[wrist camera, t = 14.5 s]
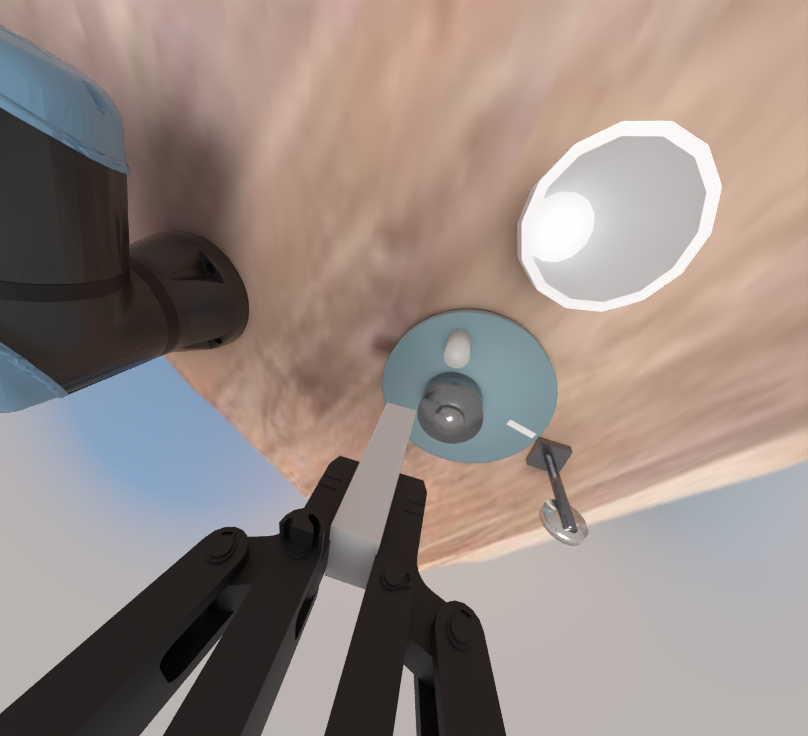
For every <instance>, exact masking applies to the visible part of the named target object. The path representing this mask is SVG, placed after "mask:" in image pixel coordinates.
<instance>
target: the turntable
mask: <svg viewBox="0 0 808 736" xmlns="http://www.w3.org/2000/svg"><path fill="white" fill-rule="evenodd" d="M445 372H458V373H462V374H464V375H467V376H468V377H470V378H472V379H473V380H474V381H475V382H476V383H477V384H478V386H479V387H480V389H481V391H482V395H483V424H482V427H481V429H480V431H479V432H478V434H477V435H476V436H475V437H473V438H472V439H470V440H468V441H466V442H462V443H457V444H450V443H444V442H440V441H438V440H436V439H434V438H432V437H430V436H429V435H428V434H427V433H426V432H425V431H424V430H423V429H422V427H421V426H420V424H419V421H418V417H417V412H416V415H415V419H414V423H413V426H412V430H411V434H410V437H409V440H410V441H411V442H412V443H413V444H415V445H416V446H418V447H419V448H421V449H422V450H424V451H426V452H428V453H430V454H432V455H435V456H437V457H440V458H443V459H447V460H450V461H455V462H462V463H485V462H492V461H497V460H501V459H504V458H507V457H510V456H512V455H514V454H516V453H518V452H520V451H522V450H523V449H525V448H527V447H528V446H529V445H530V444H532V443H533V442H534V441H535V440H536V439H537V438H538V437H539V436H540V435H541V434H542V433H543V432H544V430H545V429H546V427H547V426H548V424H549V422H550V420H551V418H552V416H553V414H554V410H555V407H556V402H557V381H556V376H555V372H554V370H553V367H552V364H551V362H550V360H549V358H548V357H547V355H546V353H545V351H544V349H543V348H542V346H541V345H540V343H539V342H538V341H537V340H536V338H535V337H534V336H533V335H532V334H531V333H530V332H528V331H527V330H526V329H525V328H523V327H522V326H521V325H519V324H518V323H516V322H514V321H513V320H511V319H509V318H507V317H504V316H502V315H499V314H496V313H493V312H488V311H484V310H475V309H458V310H451V311H446V312H442V313H439V314H436V315H433V316H431V317H429V318H427V319H424V320H423V321H421V322H420V323H418V324H416V325H415V326H414V327H413V328H411V329H410V330H409V331H408V332H407V333H406V334H405V335H404V336H403V337H402V338H401V339H400V341H399V342H398V344H397V345H396V347H395V348H394V349H393V351H392V352H391V354H390V356H389V358H388V360H387V363H386V366H385V369H384V374H383V384H382V390H383V397H384V401H385V405H386V403H387V402H388V403H391V404H395V405H398V406H402V407H405V408H409V409H413V410H416V411H417V410H418V406H419V403H420V401H421V398H422V395H423V392H424V389H425V387H426V385H427V383H428V382H429V381H430V380H431V379H432V378H433V377H435V376H436V375H438V374H441V373H445Z"/></svg>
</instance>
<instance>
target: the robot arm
mask: <svg viewBox="0 0 808 736" xmlns="http://www.w3.org/2000/svg"><path fill="white" fill-rule="evenodd" d="M129 173H130V167H129V165H128V164H127V163H126V157H125V146H124V135H123V125H122V119H121V115H120V113H119V110H118V108H117V106H116V105H115V103H114V102H113V100H112V99H111V98H110V96H109V95H108V94H107V93H106V92H105V91H104V90H103V89H102V88H101V87H100V86H99V85H98V84H97V83H96V82H94V81H93V80H92V79H90V78H89V77H88V76H86V75H85V74H83V73H82V72H80V71H79V70H77V69H75V68H74V67H72V66H71V65H69V64H67V63H66V62H64V61H62V60H61V59H59V58H57V57H56V56H54V55H52V54H51V53H49V52H47V51H45V50H44V49H42V48H40V47H39V46H37V45H35V44H33V43H32V42H30V41H28V40H27V39H25V38H23V37H21V36H19V35H18V34H16V33H14V32H12V31H11V30H9V29H7V28H5V27H3V26H2V25H0V413H9V412H16V411H19V410H23V409H26V408H28V407H31V406H34V405H37V404H40V403H43V402H45V401H48V400H51V399H54V398H63V397H65V396H67V395H68V394H71V393H73V392H76V391H78V390H80V389H83V388H85V387H88V386H90V385H92V384H95V383H97V382H100V381H102V380H104V379H107V378H109V377H112V376H114V375H116V374H119V373H121V372H124V371H126V370H128V369H131V368H133V367H136V366H138V365H140V364H143V363H145V362H148V361H150V360H152V359H155V358H157V357H159V356H162V355H165V354H167V353H170V352H180V351H194V350H208V349H214V348H218V347H221V346H223V345H225V344H227V343H230V342H232V341H234V340H235V339H236V338H238V337H239V336H240V334H241V333H242V332H243V330H244V328H245V326H246V323H247V318H248V302H247V296H246V292H245V289H244V286H243V283H242V281H241V279H240V277H239V275H238V273H237V271H236V270H235V268H234V266H233V265H232V264H231V262H230V261H229V260H228V258H227V257H226V256H225V255H224V254H223V253H222V252H221V251H220V250H219V249H218V248H217V247H216V246H214V245H213V244H212V243H210V242H209V241H207V240H206V239H204V238H202V237H200V236H197V235H195V234H192V233H187V232H162V233H157V234H153V235H151V236H149V237H146V238H144V239H142V240H139V241H137V242H135V243H132V244H130V245H129V225H128V196H127V174H129ZM416 412H417V411H416V410H413V409H409V408H405V407H402V406H398V405H395V404H391V403H388V402H387V403H386V406H385V408H384V410H383V412H382V414H381V417H380V419H379V421H378V423H377V425H376V428H375V430H374V432H373V434H372V436H371V439H370V441H369V443H368V445H367V447H366V450H365V452H364V454H363V456H362V458H361V461H360V462H358V461H355V460H352V459H348V458H345V457H342V456H339V457H338V458H336V459H335V460H334V461H332V462H331V463H330V464H329V466H328V467H327V469H326V471H325V473H324V474H323V477H322V478H321V479H320V481H319V483H318V485H317V486H316V488H315V490H314V492H313V493H312V495H311V497H310V499H309V500H308V502H307V504H306V505H305V507H304V508H302V509H297V510H294V511H292V512H290V513H289V514H287V515H286V516H285V517H284V518H283V519H282V520H281V521H280V522H279V526H280V527H279V528H280V534H277V535H274V536H261V537H260V536H259V537H247V535H246V534H245V532H244V531H243V530H241V529H239V528H236V527H224V528H221V529H218V530H215V531H214V532H212V533H211V534H209V535H208V536H206V537H205V538H204V539H202V540H201V541H200V542H199V543H198V544H197V545H196V546H194V547H193V548H192V549H191V550H190V551H189V552H187V553H186V554H185V555H184V556H183V557H182V558H181V559H179V560H178V561H177V562H176V563H175V564H174V565H172V566H171V567H170V568H169V569H168V570H167V571H166V572H165V573H163V574H162V575H161V576H160V577H158V578H157V579H156V580H155V581H154V582H153V583H152V584H150V585H149V586H148V587H147V588H146V589H145V590H144V591H142V592H141V593H140V594H139V595H138V596H136V597H135V598H134V599H133V600H132V601H131V602H129V603H128V604H127V605H126V606H125V607H124V608H122V609H121V610H120V611H119V612H118V613H117V614H116V615H114V617H112V618H111V619H110V620H109V621H107V622H106V623H105V624H104V625H103V626H102V627H100V628H99V629H98V630H97V631H96V632H95V633H93V635H91V636H90V637H89V638H88V639H87V640H85V641H84V642H83V643H82V644H81V645H80V646H78V647H77V648H76V649H75V650H74V651H73V652H71V654H69V655H68V656H67V657H66V658H64V659H63V660H62V661H61V662H60V663H59V664H58V665H56V666H55V667H54V668H53V669H52V670H51V671H49V672H48V673H47V674H46V675H45V676H44V677H42V678H41V679H40V680H39V681H38V682H37V683H35V684H34V685H33V686H32V687H31V688H30V689H28V690H27V691H26V692H25V693H24V694H23V695H22V696H20V697H19V698H18V699H17V700H16V701H15V702H13V703H12V704H11V705H10V706H9V707H8V708H6V709H5V710H4V711H3V712H2V713H1V714H0V736H139V735H140V734H141V733H142V732H143V731H144V729H145V728H146V727H147V726H148V724H149V723H150V722H151V721H152V720H153V718H154V717H155V716H156V715H157V713H158V712H159V711H160V710H161V709H162V708H163V706H164V705H165V704H166V703H167V702H168V700H169V699H170V698H171V697H172V695H173V694H174V693H175V692H176V691H177V689H178V688H179V687H180V686H181V684H182V683H183V682H184V681H185V680H186V679H187V677H188V676H189V675H190V674H191V672H192V671H193V670H194V669H195V668H196V666H197V665H198V664H199V663H200V662H201V660H202V659H203V658H204V657H205V656H206V654H207V653H208V652H209V651H210V649H211V648H212V647H213V646H214V645H215V643H216V642H217V641H218V640H219V639H220V637H221V636H222V637H221V639H220V641H219V642H218V644H217V646H216V647H215V649H214V651H213V652H212V654H211V656H210V657H209V659H208V661H207V662H206V664H205V666H204V668H203V669H202V671H201V673H200V674H199V676H198V678H197V679H196V681H195V683H194V684H193V686H192V688H191V689H190V691H189V693H188V694H187V696H186V698H185V700H184V701H183V703H182V704H181V706H180V708H179V710H178V711H177V713H176V715H175V716H174V718H173V720H172V721H171V723H170V725H169V726H168V728H167V730H166V732H165V733H164V735H163V736H261V734H262V731H263V729H264V726H265V724H266V721H267V719H268V716H269V714H270V711H271V709H272V706H273V704H274V701H275V699H276V697H277V694H278V692H279V689H280V687H281V684H282V681H283V679H284V677H285V674H286V672H287V669H288V667H289V664H290V662H291V659H292V657H293V654H294V652H295V649H296V647H297V645H298V642H299V640H300V637H301V635H302V632H303V630H304V627H305V625H306V622H307V620H308V617H309V615H310V612H311V610H312V607H313V605H314V602H315V600H316V597H317V593H318V589H319V584H320V582H321V579H322V577H323V575H324V572H325V576H328V577H331V578H334V579H337V580H340V581H342V582H345V583H348V584H351V585H354V586H357V587H360V588H363V589H366V590H365V594H364V597H363V601H362V605H361V608H360V612H359V615H358V619H357V622H356V626H355V629H354V633H353V636H352V640H351V643H350V647H349V650H348V654H347V657H346V661H345V665H344V668H343V671H342V675H341V678H340V682H339V685H338V689H337V693H336V696H335V700H334V703H333V707H332V710H331V714H330V718H329V721H328V724H327V728H326V731H325V735H324V736H393V731H394V724H395V717H396V710H397V704H398V697H399V691H400V684H401V677H402V670H403V664H404V665H405V666H406V667H407V668H408V669H409V670H410V671H411V672H412V673H413V674H414V689H415V710H416V731H417V736H506V733H505V728H504V724H503V719H502V714H501V709H500V705H499V700H498V695H497V691H496V686H495V682H494V677H493V672H492V668H491V663H490V659H489V654H488V649H487V645H486V640H485V635H484V631H483V629H482V625H481V623H480V620H479V618H478V617H477V616H476V614H475V613H474V611H473V610H472V609H471V608H469V607H468V606H467V605H466V604H464V603H461V602H458V601H450V602H445V601H444V600H443V599H441V598H440V597H439V596H438V595H436V594H435V593H434V592H433V591H431V590H430V589H429V588H428V587H427V586H426V585H425V583H424V582H423V580H422V579H421V576H420V574H419V572H418V567H417V554H418V548H419V541H420V535H421V528H422V522H423V515H424V509H425V502H426V496H427V491H426V488H425V484H424V481H423V480H420V479H417V478H413V477H410V476H407V475H403V474H400V470H401V467H402V463H403V459H404V456H405V452H406V448H407V445H408V441H409V437H410V434H411V430H412V426H413V423H414V419H415V415H416Z"/></svg>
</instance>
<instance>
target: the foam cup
mask: <svg viewBox="0 0 808 736" xmlns="http://www.w3.org/2000/svg"><path fill="white" fill-rule="evenodd" d="M721 189H722V185H721V182H720V179H719V176H718V173H717V169H716V166H715V163H714V160H713V157H712V154H711V151H710V148H709V145H708V144H706V143H705V142H703V141H702V140H700V139H699V138H697V137H696V136H694V135H693V134H691V133H690V132H688V131H687V130H685V129H684V128H682V127H681V126H679V125H677V124H676V123H674V122H673V121H622V122H620V123H618V124H616V125H613V126H611V127H609V128H607V129H605V130H603V131H601V132H599V133H597V134H595V135H592V136H590V137H588V138H586V139H584V140H582V141H580V142H578V143H576V144H574V145H573V146H572V147H571V148H570V149H569V150H567V151H566V152H565V153H564V154H563V155H562V156H561V157H560V158H559V159H558V160H557V161H556V162H555V163H554V165H553V166H552V167H551V168H550V169H549V170H548V171H547V172H546V173H545V174H544V175H543V176H542V177H541V178H540V179H539V180H538V181H537V182H536V183H535V184H534V185H533V187H532V189H531V191H530V194H529V196H528V198H527V201H526V203H525V205H524V208H523V210H522V213H521V215H520V217H519V220H518V222H517V258H518V260H519V261H520V263H521V265H522V267H523V269H524V271H525V273H526V275H527V276H528V278H529V280H530V282H531V284H532V285H533V286H534V287H535V288H536V289H537V290H538V291H540V292H541V293H543V294H544V295H546V296H547V297H549V298H551V299H552V300H554V301H555V302H557V303H558V304H560V305H562V306H563V307H565V308H571V309H580V310H590V311H599V312H603V311H607V310H610V309H614V308H617V307H621V306H625V305H628V304H632V303H635V302H639V301H642V300H644V299H646V298H647V297H649V296H650V295H651V294H653V293H654V292H656V291H657V290H659V289H660V288H662V287H663V286H664V285H666V284H667V283H669V282H670V281H672V280H673V279H675V278H676V277H677V276H679V275H680V274H682V273H683V271H684V270H685V269H686V267H687V266H688V264H689V263H690V262H691V260H692V259H693V258H694V256H695V255H696V253H697V252H698V251H699V249H700V248H701V247H702V245H703V244H704V242H705V241H706V240H707V238H708V237H709V236H710V234H711V232H712V228H713V224H714V219H715V215H716V211H717V206H718V202H719V198H720V194H721Z"/></svg>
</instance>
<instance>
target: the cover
mask: <svg viewBox="0 0 808 736" xmlns="http://www.w3.org/2000/svg"><path fill="white" fill-rule="evenodd" d="M417 417H418V421H419V424H420V426H421V427H422V429H423V430H424V431H425V432H426V433H427V434H428V435H429V436H430V437H432V438H434V439H436V440H438V441H440V442H444V443H450V444H457V443H462V442H466V441H468V440H470V439H472V438H473V437H475V436H476V435H477V434H478V432H479V431H480V429H481V427H482V424H483V395H482V391H481V389H480V387H479V386H478V384H477V383H476V382H475V381H474V380H473V379H472V378H470V377H468V376H467V375H464V374H462V373H458V372H445V373H441V374H438V375H436V376H435V377H433V378H432V379H431V380H430V381H429V382H428V383H427V385H426V387H425V389H424V392H423V395H422V398H421V401H420V403H419V406H418V410H417Z"/></svg>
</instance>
